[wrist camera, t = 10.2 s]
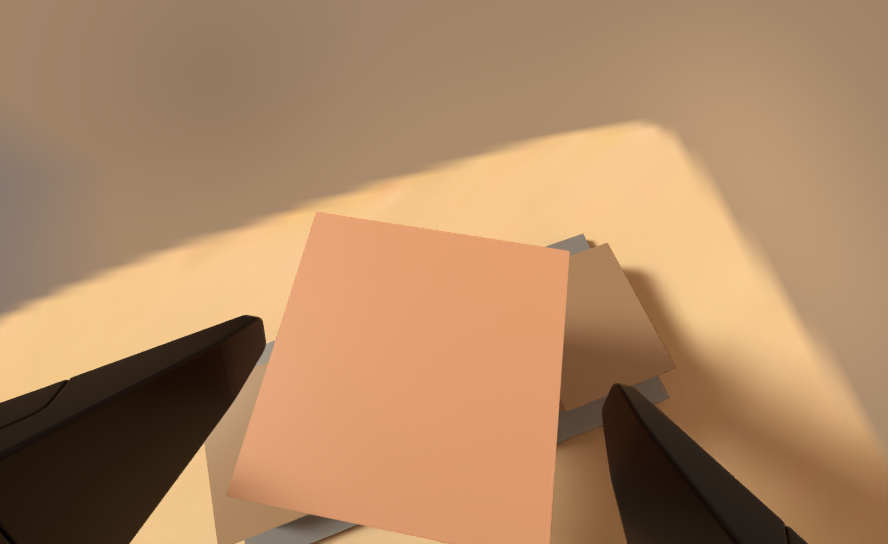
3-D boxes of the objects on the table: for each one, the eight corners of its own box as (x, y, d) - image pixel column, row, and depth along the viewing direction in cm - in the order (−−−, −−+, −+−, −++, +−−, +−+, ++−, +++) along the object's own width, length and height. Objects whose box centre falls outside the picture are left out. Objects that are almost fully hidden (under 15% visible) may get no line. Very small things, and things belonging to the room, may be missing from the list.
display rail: (258, 559, 15) (210, 604, 12) (227, 361, 18) (181, 356, 15) (659, 397, 17) (706, 400, 14) (577, 239, 20) (602, 212, 17)
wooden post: (477, 437, 16) (548, 564, 5) (381, 418, 16) (225, 496, 5) (490, 339, 17) (569, 250, 6) (401, 324, 18) (316, 212, 6)
